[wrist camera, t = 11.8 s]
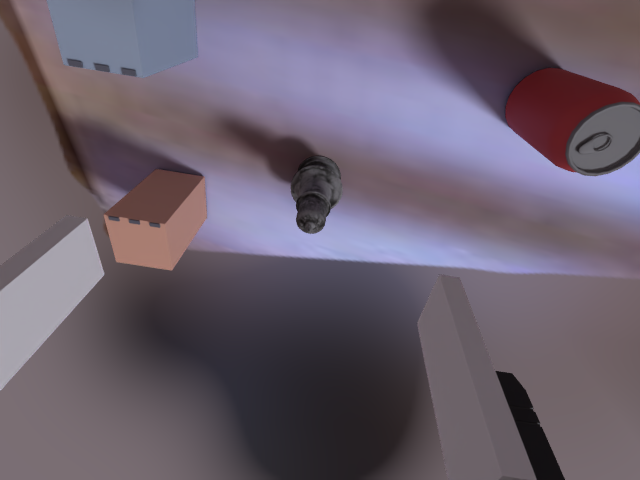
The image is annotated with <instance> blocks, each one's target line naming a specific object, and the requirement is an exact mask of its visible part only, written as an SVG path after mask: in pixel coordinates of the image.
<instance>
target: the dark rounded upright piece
mask: <svg viewBox="0 0 640 480" xmlns="http://www.w3.org/2000/svg"><path fill="white" fill-rule="evenodd" d="M340 180H341V175H340V171H339V168H338V166H337V165H336V163H334V162H333V161H332V160H331V159H329V158H327V157H323V156H313V157H310V158H308V159H306V160H305V161H304V162H303V163H302V164H301V165H300V167H299V169H298V172H297V173H296V174H295V176H294V178H293V180H292V182H291V194H292V196H293V199H294V200H295V202H296V209H297V211H298V213H297V217H296V222H297V225H298V227H299V228H300V229H301V230H302V231H303V232H306V233H310V234H314V233H317V232H319V231H321V230H322V229H323V227H324V225H325V221H326V217H327V216H328V214H329V213H330V209H332V208H333V207H334V206H336V205H337V204H338V202H339V200H340V199H341V196H342V184H341V181H340Z"/></svg>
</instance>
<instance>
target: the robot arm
mask: <svg viewBox="0 0 640 480" xmlns="http://www.w3.org/2000/svg"><path fill="white" fill-rule="evenodd" d="M103 275H104V272H103V268H102V265H101V262H100V259H99V255H98V252H97V248H96V245H95V242H94V238H93V235H92V232H91V228H90V225H89V222H88V219H87V218H81V217H75V216H69V215H66V216H65V217H63V218H62V219H61V220H60V221H58V222H57V223H56V224H54V225H53V226H52V227H50V228H49V229H48V230H46V231H45V232H44V233H43V234H41V235H40V236H38V237H37V238H36V239H35V240H33V241H32V242H31V243H29V244H28V245H27V246H25V247H24V248H23V249H21V250H20V251H19V252H17V253H16V254H15V255H13V256H12V257H11V258H10V259H8V260H7V261H6V262H4V263H3V264H2V265H0V390H1V389H2V388H3V387H4V386H5V385H6V384H7V383H8V382H9V380H10V379H11V378H12V377H13V376H14V375H15V374H16V372H17V371H18V370H19V369H20V368H21V367H22V366H23V365H24V364H25V363H26V361H27V360H28V359H29V358H30V357H31V356H32V355H33V354H34V353H35V351H36V350H37V349H38V348H39V347H40V346H41V345H42V344H43V342H44V341H45V340H46V339H47V338H48V337H49V336H50V335H51V334H52V332H53V331H54V330H55V329H56V328H57V327H58V326H59V325H60V323H61V322H62V321H63V320H64V319H65V318H66V316H68V315H69V313H70V312H71V311H72V310H73V309H74V308H75V307H76V306H77V305H78V303H79V302H80V301H81V300H82V299H83V298H84V297H85V296H86V294H87V293H88V292H89V291H90V290H91V289H92V288H93V287H94V286H95V284H96V283H97V282H98V281H99V280H100V279H101V278H102V276H103ZM417 324H418V330H419V335H420V340H421V345H422V350H423V355H424V360H425V365H426V371H427V376H428V381H429V386H430V391H431V396H432V401H433V406H434V411H435V416H436V421H437V426H438V431H439V436H440V441H441V446H442V452H443V456H444V462H445V467H446V472H447V477H448V480H565V479H564V477H563V474H562V472H561V470H560V467H559V465H558V463H557V460H556V458H555V456H554V454H553V451H552V449H551V447H550V445H549V442H548V440H547V438H546V436H545V433H544V431H543V429H542V427H540V422H539V420H538V417H537V415H536V413H535V412H534V411H533V406H532V404H531V401H530V399H529V397H528V394H527V392H526V390H525V389H524V388H523V387H522V385H521V384H520V383H519V381H518V380H517V379H516V378H515V377H514V375H513V374H512V373H506V372H499V371H495V369H494V366H493V364H492V361H491V358H490V356H489V353H488V351H487V348H486V345H485V343H484V340H483V337H482V335H481V332H480V330H479V327H478V324H477V322H476V319H475V316H474V314H473V312H472V309H471V306H470V304H469V301H468V298H467V295H466V293H465V290H464V288H463V285H462V283H461V280H460V278H459V277H454V276H448V275H442V274H440V275H439V276H438V278H437V281H436V283H435V285H434V287H433V289H432V292H431V294H430V296H429V298H428V301H427V303H426V305H425V307H424V309H423V312H422V314H421V316H420V318H419V320H418V323H417Z"/></svg>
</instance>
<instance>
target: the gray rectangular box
mask: <svg viewBox="0 0 640 480" xmlns="http://www.w3.org/2000/svg"><path fill="white" fill-rule="evenodd" d="M47 3H48V7H49V11H50V14H51V18H52V22H53V26H54V30H55V33H56V37H57V41H58V45H59V48H60V52H61V56H62V60H63V63H64V65H67V66H73V67H80V68H86V69H92V70H98V71H104V72H110V73H116V74H122V75H129V76H135V77H141V78H145V77H147V76H150V75H152V74H155V73H158V72H160V71H163V70H166V69H168V68H171V67H174V66H176V65H179V64H181V63H184V62H187V61H189V60H192V59H195V58H197V57H198V48H197V32H196V16H195V0H47Z"/></svg>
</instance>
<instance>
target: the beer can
mask: <svg viewBox="0 0 640 480" xmlns="http://www.w3.org/2000/svg"><path fill="white" fill-rule="evenodd" d="M505 117H506V120H507V123H508V126H509V127H510V128H511V129H512V130H513V131H514V132H515V133H516V134H518V135H519V136H520V137H521V138H523V139H524V140H525V141H526V142H528V143H529V144H530V145H531V146H532V147H534V148H535V149H536V150H537V151H539V152H540V153H541V154H542V155H544V156H545V157H546V158H547V159H548V160H550V161H551V162H552V163H553V164H555V165H556V166H558V167H560V168H563V169H565V170H568V171H571V172H578V173H580V174H582V175H587V176H598V175H604V174H608V173H611V172H613V171H615V170H618V169H620V168H622V167H623V166H625V165H626V164H628V163H629V162H631V161H632V160H633V159H634V158H635V157H636V156H637V155H638V154H639V153H640V103H639V101H638V100H637V99H636V98H635V97H634V96H633V95H632V94H631V93H628V92H626V91H624V90H622V89H620V88H617V87H614V86H611V85H608V84H605V83H602V82H599V81H596V80H593V79H590V78H587V77H584V76H581V75H578V74H575V73H572V72H569V71H566V70H563V69H560V68H546V69H542V70H538V71H536V72H534V73H532V74H530V75H529V76H527V77H525V78H524V79H523V80H522V81H521V82H520V83H519V84H518V85H517V86H516V87H515V88H514V90H513V91H512V93H511V94H510V96H509V98H508V101H507V104H506V113H505Z"/></svg>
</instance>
